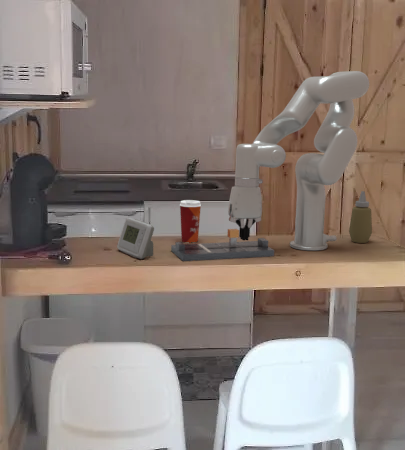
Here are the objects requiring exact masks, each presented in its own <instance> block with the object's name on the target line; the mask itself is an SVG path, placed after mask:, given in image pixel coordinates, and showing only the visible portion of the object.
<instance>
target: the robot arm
mask: <svg viewBox="0 0 405 450" xmlns="http://www.w3.org/2000/svg"><path fill="white" fill-rule="evenodd" d="M369 88H370V79H369V77H368V75H367V74H366V73H364V72H362V71H359V70H349V71H337V72H334V73H331V74H330V75H328V76H327V75H326V76H323V75H321V76H310V77H307V78H305V79H304V80H303V82H301V84H300V85H299V87H298V89H297V90H296V91H295V93H294V94H293V96H292V97H291V99H290V101H289V102H288V103H287V105H286V106H285V107H284V109H283V110H282V111H281V112H280V113H279V114H278V115H277V116H276V117H274V118H273V119H272V120H271V121H270V122H268V123H267V124H266V125H265V126H264V127H263V128H262V129H261V130H260V132H259V133H258V135H256V137H255V139H254V140H253V142H252V143H241V144H240V143H239V144H238V145H237V146H236V149H235V171H234V174H235V175H234V186H231V191H230V196H229V201H228V210H227V211H228V216H229V218H228V221H229V222H230V223H234V224H236V225H238V227H239V229H238V230H239V238H240V240H242V241H249V237H251V236H250V234H251V228H252V226H253V225H254V224H255V223H259V222H261V221H262V213H263V199H262V192H261V187H259V186H260V185H261V184H263V178H262V179H260V167H265V168H270V169H274V168H278V167H280V166H282V165H283V164H284V162H285V161H286V159H287V154H286V151H285V149H284V148H283V147H282V146H281V145H280V144H279V142H280V141H282V140H283V139H284V138H286V137H288V135H290V134H293V133H295V132H298V131H300V130H301V129H303V128H304V127H305V126H306V125H307V123H308V122H309V120H310V119H311V118H312V116H313V114H315V111H316V110H317V109H318V108H319V106H320V105H321V104H327V105H328V104H329V109H328V111H327V112H326V113H327V114H326V116H325V117H324V119H323V121H322V123H321V124H320V127H319V128H318V130H317V132H316V134H315V136H314V139H313V145H314V148H315V149H316V150H317V151H319V152H320V153H314V152H311V153H304V154H302V155H301V156H300V157H299V158H298V159H297V161H296V164H295V166H294V167H295V168H294V169H295V170H294V173H295V179H296V203H295V204H296V205H295V208H296V209H295V223H294V224H295V225H294V226H295V227H294V240H291V241H289V246H290V247H291V248H293V249H296V250H301V251H323V250H327V248H328V242H337V236H336V235H334V234H333V235H329V234H326V233H324V229H325V213H326V198H327V197H326V196H327V195H326V188H325V186H332V185H334V184H336V183H337V182H338V181H339V180H340V178H342V176H343V174H344V173H345V171H346V169H347V167H348V165H349V163H350V161H351V160H352V158H353V156H354V154H355V152H356V150H357V147H358V136H357V133H356V131H355V130H354V129H353V128H351V124H352V123H353V120H354V117H355V105H354V101H353V100H355V99H360V98H362V97H363V96H364V95H365V94H366V93H367V92H368V91H369ZM278 144H279V145H278ZM322 153H323V154H322Z"/></svg>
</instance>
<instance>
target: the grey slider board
mask: <svg viewBox="0 0 405 450" xmlns="http://www.w3.org/2000/svg"><path fill="white" fill-rule="evenodd" d="M170 247H171V251H170V252H172V253H173V254H175V256H176V257H177V258H179V259H180V260H181V261H182V262H192V261H193V260H195V261H211V260H228V259H245V258H247V259H248V258H264V257H265V258H268V257H269V258H270V257H274V256H275V249H273V248H271V247H270V246H269V240H268V239H266V238H264V237H260V238H257V240H244V241H237V246H229V241H228V242H227V241H226V242H210V243H209V242H207V243H205V242H204V243H203V242H202V243H184V242H182V241H176V242H175V244H171V246H170Z"/></svg>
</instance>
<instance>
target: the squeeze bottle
mask: <svg viewBox="0 0 405 450" xmlns="http://www.w3.org/2000/svg"><path fill="white" fill-rule="evenodd" d="M366 197H367V196H366V191H365V190H364V191H363V190H361V191H360V195H359V198H358V200H355V203H354V204H355V207H353V208H352V210H351V216H350V222H349V223H350V224H349V228H348V234H349V238H350V240H351V242H353V243H358V244H365V243H369V241H370V240H371V239H370V238H371V237H372V233H373V227H372V226H373V225H372V224H373V222H372V221H373V220H372V219H373V218H372V209H371V208H370V201H367V198H366Z"/></svg>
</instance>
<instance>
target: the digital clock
mask: <svg viewBox="0 0 405 450" xmlns="http://www.w3.org/2000/svg"><path fill="white" fill-rule="evenodd" d="M154 231H155V227H154V226H153V225H152V224H150V223H148V222H145V221H142V220H139V219H137V218H132V217H127V218H126V219H125V221H124V223H123V227H122V229H121V233H120V236H119V239H118V242H117V246H116V247H117V249H118V251H121V252H122V253H123V254H126V255H128V256H131V257H132V258H135V259H138V260H139V259H140V260H143V259H145V258H146V257H153V256H154V242H153V240H152V238H153V234H154Z"/></svg>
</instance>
